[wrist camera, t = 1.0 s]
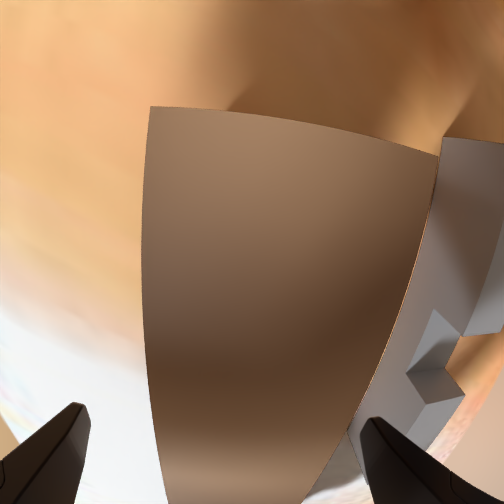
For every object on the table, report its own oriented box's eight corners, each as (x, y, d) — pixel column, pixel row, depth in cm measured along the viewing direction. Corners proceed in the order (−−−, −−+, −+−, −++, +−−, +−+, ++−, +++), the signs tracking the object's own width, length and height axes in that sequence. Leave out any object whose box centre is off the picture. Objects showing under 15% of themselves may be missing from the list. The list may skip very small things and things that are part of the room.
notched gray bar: (381, 426, 20) (404, 475, 15) (346, 431, 19) (367, 484, 15) (480, 152, 13) (548, 166, 8) (443, 136, 12) (516, 146, 8)
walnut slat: (239, 418, 18) (252, 564, 8) (191, 415, 17) (184, 563, 8) (282, 140, 12) (438, 157, 3) (208, 131, 12) (151, 106, 3)
